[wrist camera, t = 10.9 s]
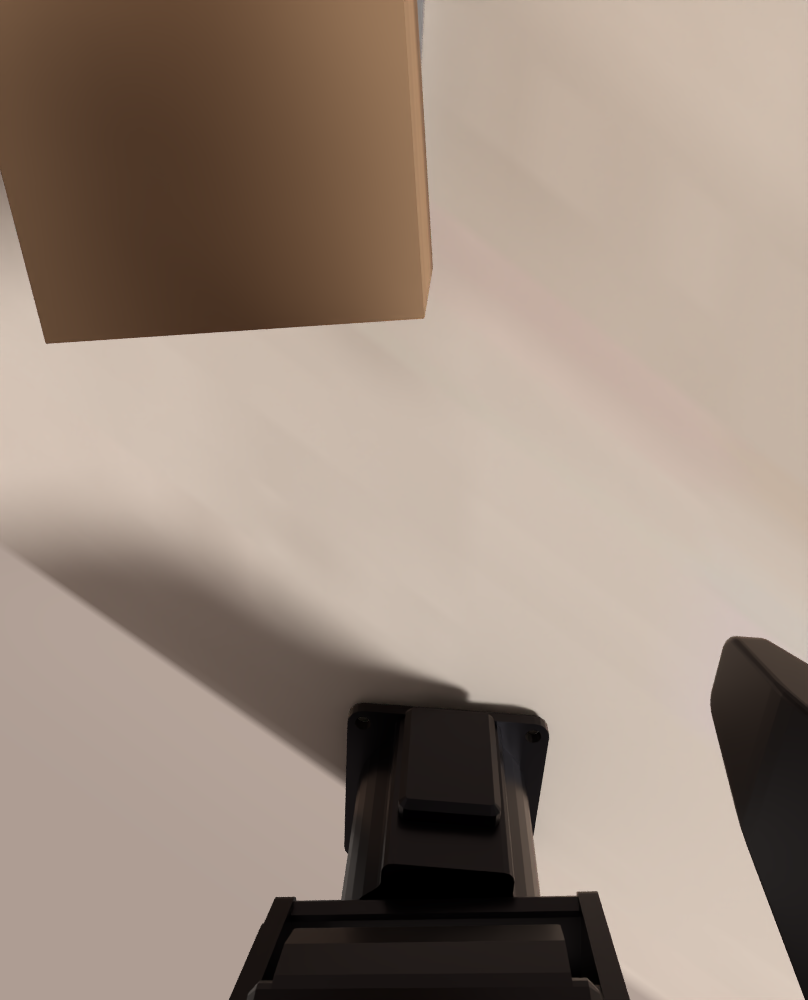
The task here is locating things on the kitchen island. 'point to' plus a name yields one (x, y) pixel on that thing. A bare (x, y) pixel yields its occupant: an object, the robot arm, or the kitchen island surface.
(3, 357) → the kitchen island surface
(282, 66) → the board
